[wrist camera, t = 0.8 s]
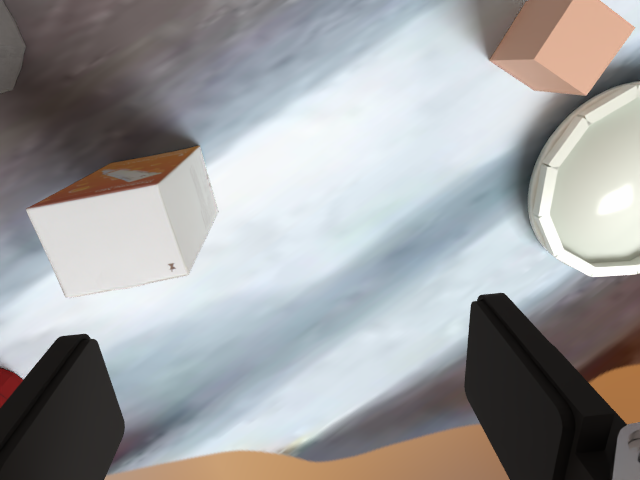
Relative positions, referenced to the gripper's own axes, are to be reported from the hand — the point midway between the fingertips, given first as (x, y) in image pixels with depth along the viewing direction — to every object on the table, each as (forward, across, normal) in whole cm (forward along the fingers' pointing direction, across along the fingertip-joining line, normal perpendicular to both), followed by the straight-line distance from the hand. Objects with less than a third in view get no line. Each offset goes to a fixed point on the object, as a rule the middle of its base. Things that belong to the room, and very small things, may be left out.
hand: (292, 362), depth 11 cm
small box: (+29, +11, +3) cm, 31 cm away
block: (+29, -21, -6) cm, 36 cm away
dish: (+29, -31, +6) cm, 43 cm away
